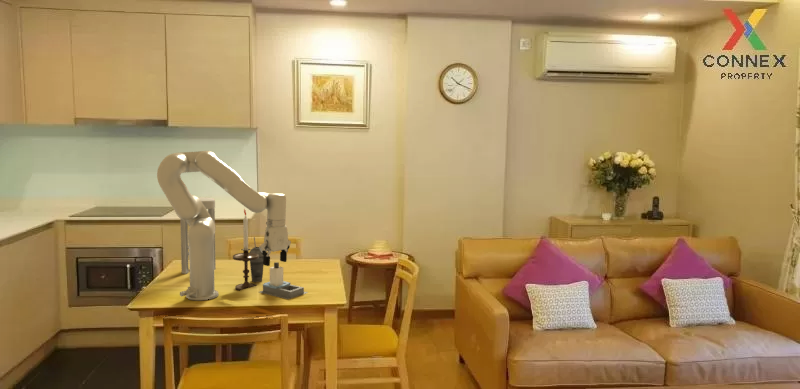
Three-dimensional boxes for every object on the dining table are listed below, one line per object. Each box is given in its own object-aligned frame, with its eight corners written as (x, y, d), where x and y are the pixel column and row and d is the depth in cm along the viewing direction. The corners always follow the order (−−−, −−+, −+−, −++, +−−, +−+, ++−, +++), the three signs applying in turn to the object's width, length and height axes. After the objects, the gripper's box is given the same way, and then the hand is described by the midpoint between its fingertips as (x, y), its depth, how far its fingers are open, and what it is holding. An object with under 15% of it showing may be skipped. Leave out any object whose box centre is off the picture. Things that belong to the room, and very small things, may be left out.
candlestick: (242, 293, 241) (241, 210, 237) (228, 287, 248) (227, 207, 244) (264, 288, 249) (263, 208, 245) (250, 283, 256) (249, 205, 252)
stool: (175, 274, 268) (173, 200, 264) (192, 266, 283) (190, 196, 279) (206, 276, 265) (204, 201, 261) (221, 268, 281) (220, 197, 276)
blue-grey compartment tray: (288, 302, 230) (288, 291, 229) (258, 294, 239) (258, 284, 238) (308, 295, 240) (308, 285, 239) (278, 288, 249) (278, 278, 248)
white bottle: (276, 292, 239) (276, 264, 237) (269, 290, 241) (269, 263, 239) (283, 290, 242) (283, 262, 240) (276, 288, 244) (276, 261, 243)
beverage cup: (260, 283, 256) (260, 239, 254) (245, 282, 257) (245, 238, 255) (267, 279, 263) (267, 236, 261) (253, 278, 265) (252, 235, 262)
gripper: (267, 226, 229) (266, 268, 231) (297, 222, 243) (295, 261, 245) (254, 224, 233) (253, 265, 235) (284, 219, 247) (283, 258, 249)
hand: (275, 263), depth 240 cm, fingers open, 9 cm apart
